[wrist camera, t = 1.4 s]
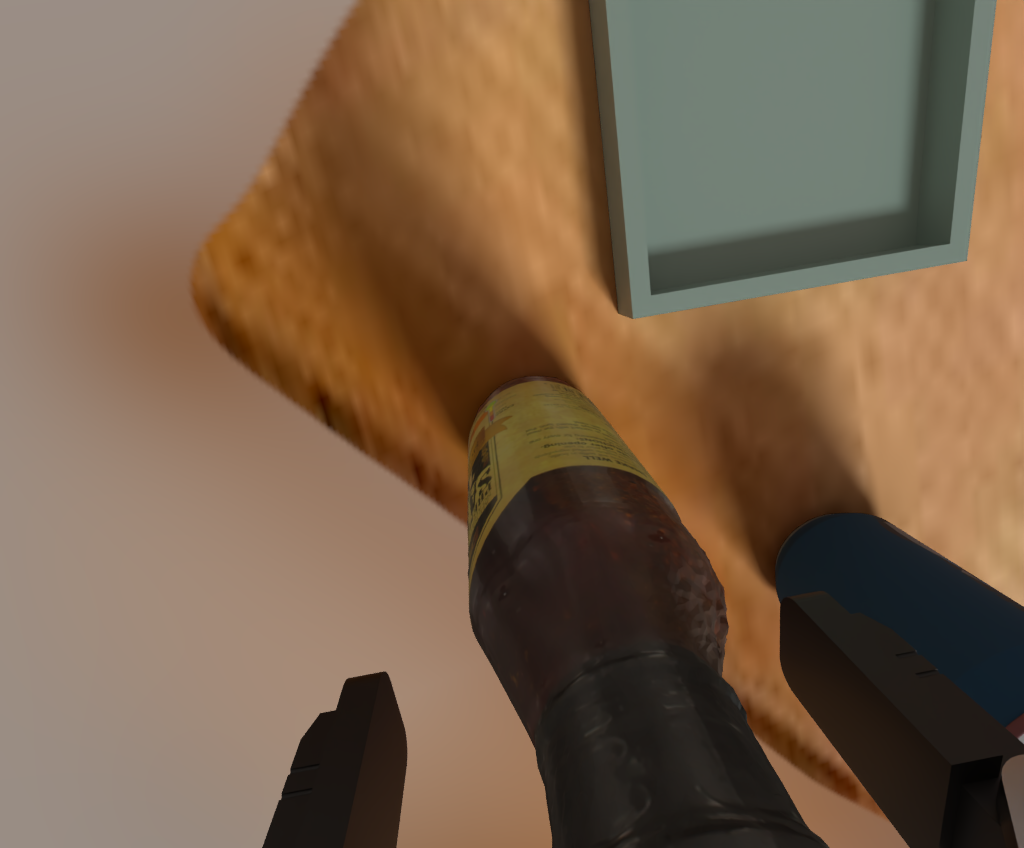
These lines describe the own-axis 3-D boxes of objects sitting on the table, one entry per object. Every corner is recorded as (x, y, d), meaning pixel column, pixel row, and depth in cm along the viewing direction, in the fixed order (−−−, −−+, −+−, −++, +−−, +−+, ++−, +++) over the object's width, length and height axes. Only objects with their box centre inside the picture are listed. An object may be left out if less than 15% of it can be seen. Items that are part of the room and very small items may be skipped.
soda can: (749, 610, 28) (936, 847, 17) (781, 497, 26) (1018, 679, 15) (864, 615, 29) (1120, 845, 17) (904, 505, 27) (1223, 685, 15)
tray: (956, -135, 18) (1018, -186, 16) (921, 261, 23) (967, 260, 21) (581, -75, 18) (595, -118, 16) (618, 313, 23) (632, 318, 21)
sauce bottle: (451, 392, 23) (346, 956, 4) (582, 354, 23) (1066, 763, 4) (491, 514, 25) (539, 1262, 6) (611, 480, 25) (1026, 1137, 6)
